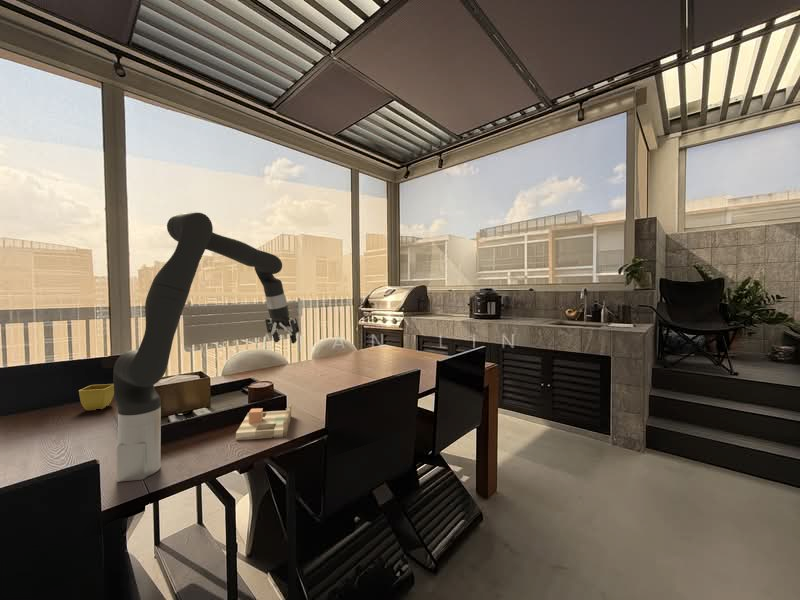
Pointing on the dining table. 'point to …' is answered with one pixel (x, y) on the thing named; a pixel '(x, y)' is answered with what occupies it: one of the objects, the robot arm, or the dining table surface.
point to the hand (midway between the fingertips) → (285, 342)
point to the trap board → (266, 426)
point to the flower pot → (96, 396)
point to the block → (255, 415)
